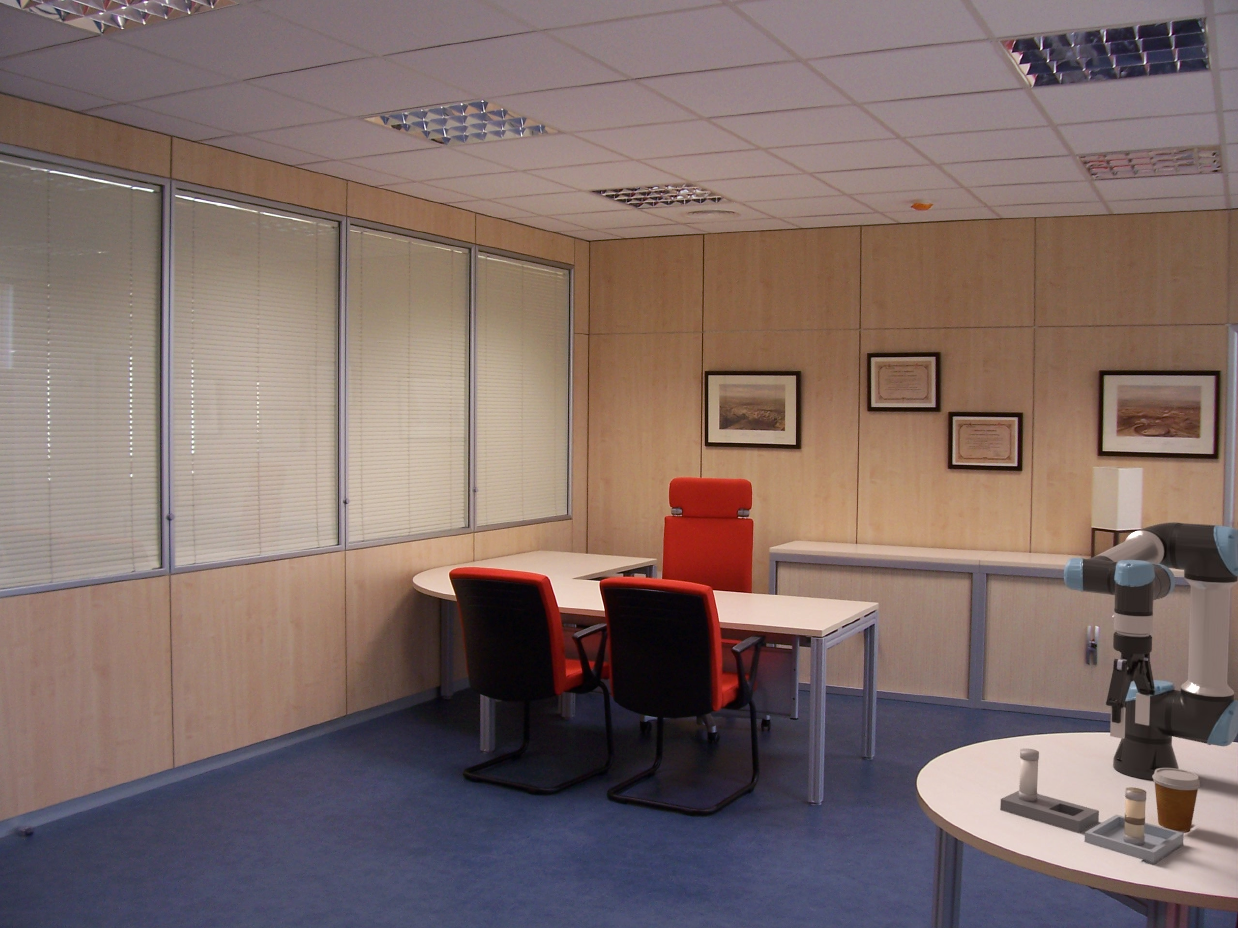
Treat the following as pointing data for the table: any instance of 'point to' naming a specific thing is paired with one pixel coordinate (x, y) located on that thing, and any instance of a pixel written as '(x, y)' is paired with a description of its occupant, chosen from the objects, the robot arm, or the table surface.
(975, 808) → the table surface
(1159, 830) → the parts tray
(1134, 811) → the fuse
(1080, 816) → the grey slotted block
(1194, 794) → the disposable coffee cup
